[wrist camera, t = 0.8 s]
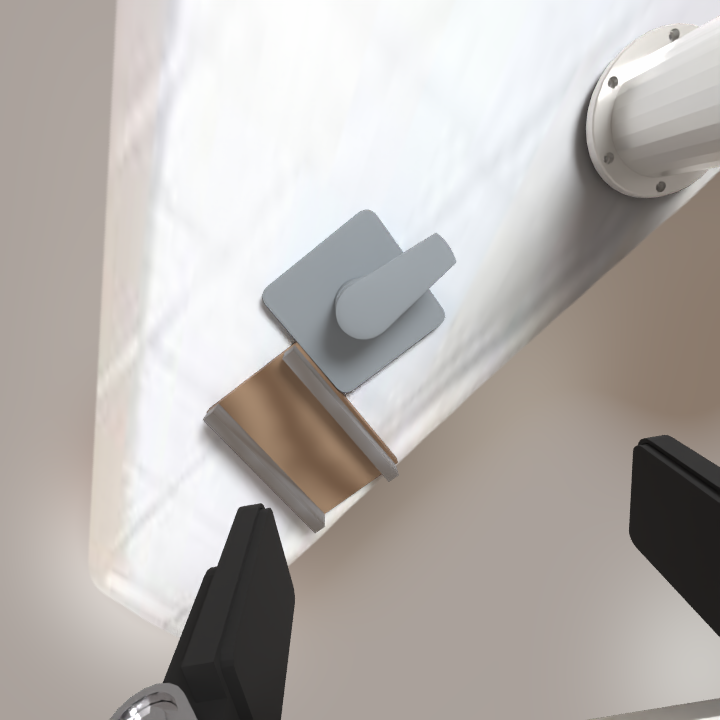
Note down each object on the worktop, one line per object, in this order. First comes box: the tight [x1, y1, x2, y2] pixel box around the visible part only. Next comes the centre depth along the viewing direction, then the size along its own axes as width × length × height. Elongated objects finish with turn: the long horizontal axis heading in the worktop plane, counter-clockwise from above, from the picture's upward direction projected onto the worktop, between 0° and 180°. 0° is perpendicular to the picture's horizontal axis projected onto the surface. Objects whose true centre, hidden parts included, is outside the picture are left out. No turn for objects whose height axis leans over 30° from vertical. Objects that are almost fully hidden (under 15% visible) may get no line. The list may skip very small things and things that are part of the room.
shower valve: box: [262, 210, 456, 393], centre depth 35 cm, size 12×6×15 cm
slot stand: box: [203, 341, 399, 533], centre depth 40 cm, size 11×16×3 cm
